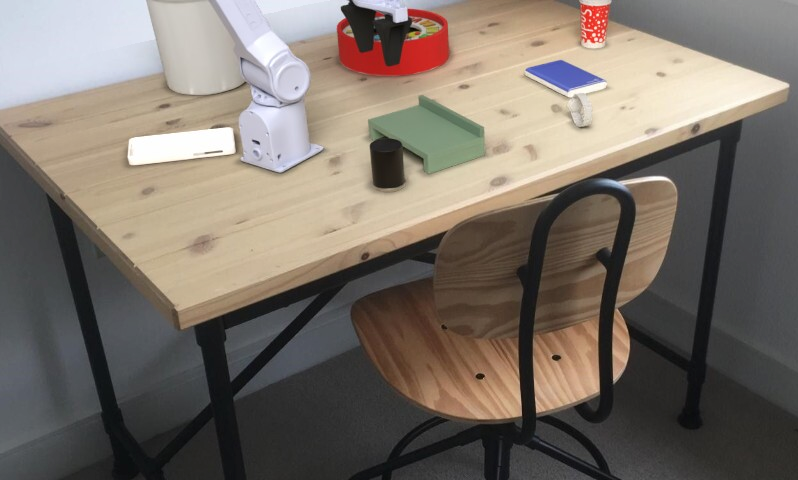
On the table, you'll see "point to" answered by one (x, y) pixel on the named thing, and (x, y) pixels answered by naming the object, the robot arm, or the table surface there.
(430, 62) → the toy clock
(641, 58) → the table surface
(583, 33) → the beverage cup
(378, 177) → the cylinder
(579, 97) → the wristwatch
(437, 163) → the shelf
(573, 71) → the hard drive
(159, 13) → the utensil holder
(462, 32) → the table surface
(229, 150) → the phone case
